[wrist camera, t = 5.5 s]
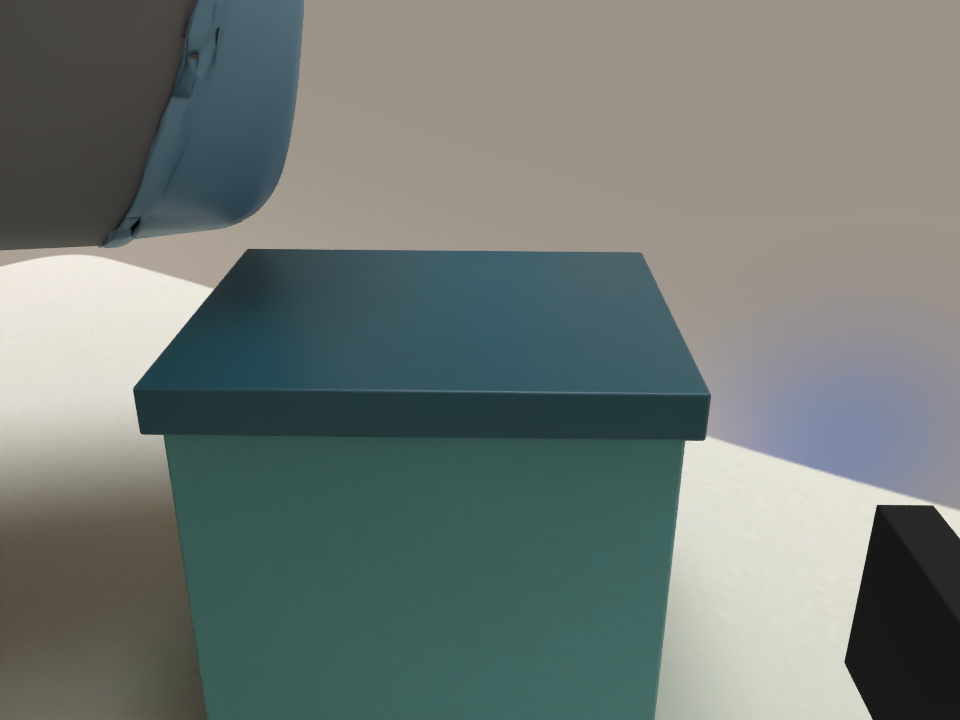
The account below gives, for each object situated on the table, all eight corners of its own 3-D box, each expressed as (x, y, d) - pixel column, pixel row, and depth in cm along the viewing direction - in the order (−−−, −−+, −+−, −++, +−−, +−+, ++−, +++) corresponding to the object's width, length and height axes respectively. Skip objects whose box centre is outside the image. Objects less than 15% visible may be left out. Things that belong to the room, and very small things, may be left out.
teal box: (664, 791, 21) (712, 394, 17) (197, 784, 21) (131, 387, 17) (617, 560, 29) (642, 251, 25) (278, 556, 29) (246, 248, 25)
